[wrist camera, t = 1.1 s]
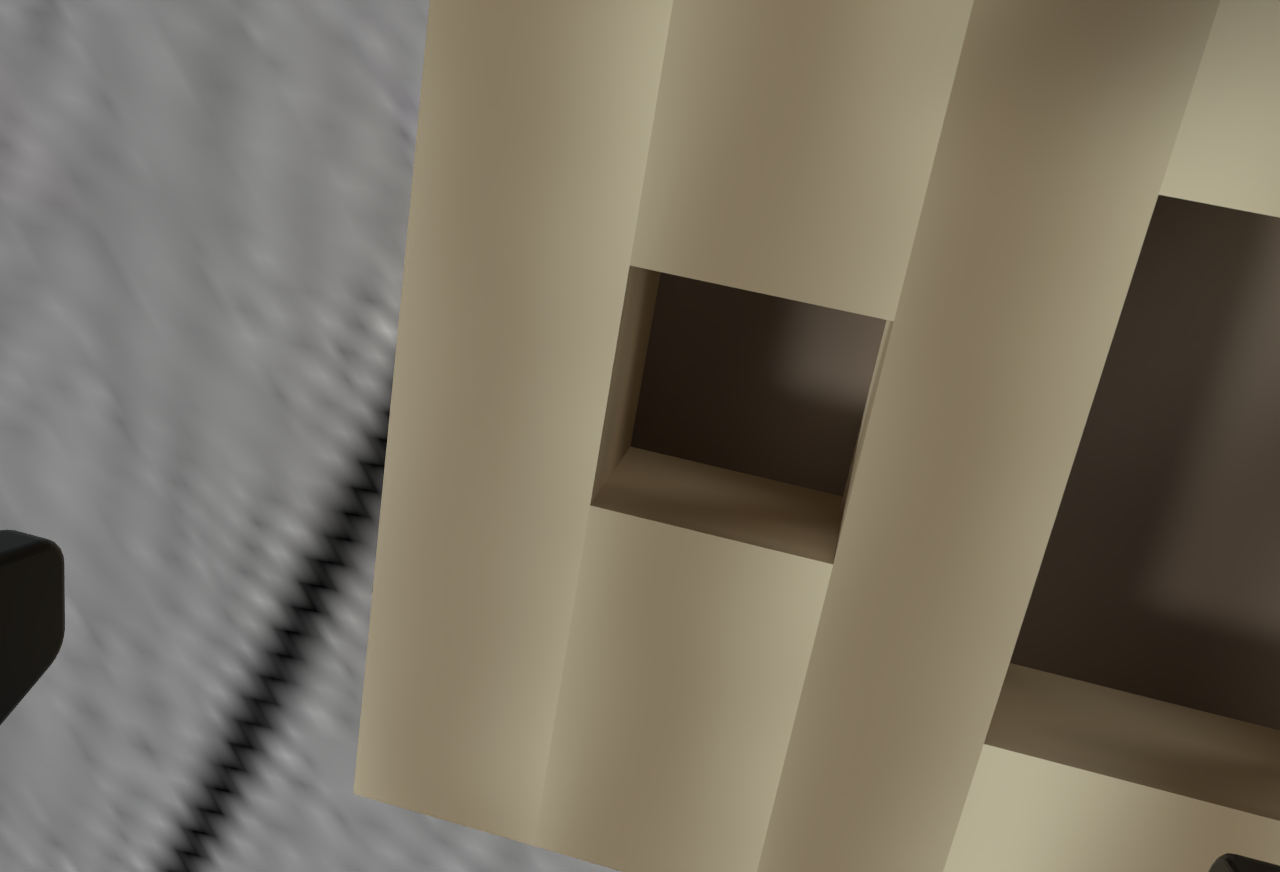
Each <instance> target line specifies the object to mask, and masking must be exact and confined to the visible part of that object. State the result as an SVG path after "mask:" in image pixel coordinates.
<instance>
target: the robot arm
mask: <svg viewBox="0 0 1280 872" xmlns="http://www.w3.org/2000/svg"><path fill="white" fill-rule="evenodd" d="M64 631H65V599H64V557H63V554H62V551H61V549H60V548H59V546H58V545H57V544H56V543H55V542H53V541H51V540H48V539H45V538H41V537H38V536H34V535H30V534H26V533H22V532H19V531H15V530H0V725H1V724H2V723H3V721H4V720H5V719H6V718H7V717H8V715H9V714H10V713H11V712H12V711H13V709H14V708H15V707H16V706H17V705H18V703H19V702H20V701H21V700H22V699H23V698H24V696H25V695H26V694H27V693H28V692H29V690H30V689H31V688H32V687H33V686H34V684H35V683H36V682H37V681H38V680H39V678H40V677H41V676H42V675H43V674H44V672H45V671H46V670H47V669H48V668H49V666H50V665H51V664H52V662H53V661H54V660H55V658H56V656H57V654H58V653H59V650H60V648H61V645H62V642H63V638H64ZM1209 872H1280V866H1279V865H1276V864H1272V863H1268V862H1264V861H1260V860H1256V859H1253V858H1249V857H1245V856H1241V855H1237V854H1232V853H1227V854H1224V855H1222V856H1220V857H1218V858H1217V859H1216V861H1215V862H1214V863H1213V864H1212V866H1211V868H1210V870H1209Z"/></svg>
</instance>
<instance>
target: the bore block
mask: <svg viewBox="0 0 1280 872" xmlns="http://www.w3.org/2000/svg"><path fill="white" fill-rule="evenodd" d="M353 794H356V795H359V796H363V797H366V798H370V799H373V800H377V801H380V802H384V803H387V804H390V805H394V806H397V807H401V808H404V809H408V810H411V811H415V812H418V813H422V814H425V815H429V816H432V817H435V818H439V819H442V820H446V821H449V822H453V823H456V824H460V825H463V826H467V827H470V828H474V829H477V830H480V831H484V832H487V833H491V834H494V835H498V836H501V837H505V838H508V839H512V840H515V841H519V842H522V843H525V844H529V845H532V846H536V847H539V848H543V849H546V850H550V851H553V852H557V853H560V854H563V855H567V856H570V857H574V858H577V859H581V860H584V861H588V862H591V863H595V864H598V865H602V866H605V867H608V868H612V869H615V870H619V871H622V872H1209V870H1210V868H1211V866H1212V864H1213V863H1214V862H1215V861H1216V859H1217V858H1218V857H1220V856H1222V855H1224V854H1227V853H1232V854H1237V855H1241V856H1245V857H1249V858H1253V859H1256V860H1260V861H1264V862H1268V863H1272V864H1276V865H1279V866H1280V0H430V4H429V14H428V24H427V35H426V45H425V55H424V66H423V76H422V86H421V97H420V107H419V118H418V128H417V138H416V149H415V159H414V169H413V180H412V190H411V200H410V211H409V221H408V232H407V242H406V252H405V263H404V273H403V283H402V294H401V304H400V314H399V325H398V335H397V346H396V356H395V366H394V377H393V387H392V397H391V408H390V418H389V429H388V439H387V449H386V460H385V470H384V480H383V491H382V501H381V511H380V522H379V532H378V543H377V553H376V563H375V574H374V584H373V594H372V605H371V615H370V625H369V636H368V646H367V657H366V667H365V677H364V688H363V698H362V708H361V719H360V729H359V739H358V750H357V760H356V771H355V781H354V791H353Z"/></svg>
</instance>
